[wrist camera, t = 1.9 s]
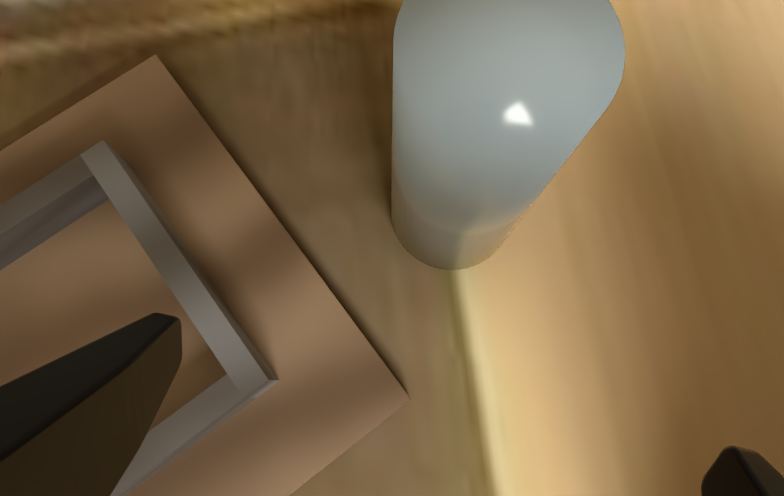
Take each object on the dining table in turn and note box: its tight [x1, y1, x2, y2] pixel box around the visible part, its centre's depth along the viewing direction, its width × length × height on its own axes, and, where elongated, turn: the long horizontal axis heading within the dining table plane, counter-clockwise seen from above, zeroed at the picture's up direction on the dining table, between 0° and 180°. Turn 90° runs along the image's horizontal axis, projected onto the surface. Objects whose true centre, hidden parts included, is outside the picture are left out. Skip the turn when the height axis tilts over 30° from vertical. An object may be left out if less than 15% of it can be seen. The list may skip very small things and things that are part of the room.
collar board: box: [0, 54, 411, 496], centre depth 21 cm, size 18×18×3 cm
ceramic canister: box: [391, 0, 625, 270], centre depth 18 cm, size 5×5×12 cm
